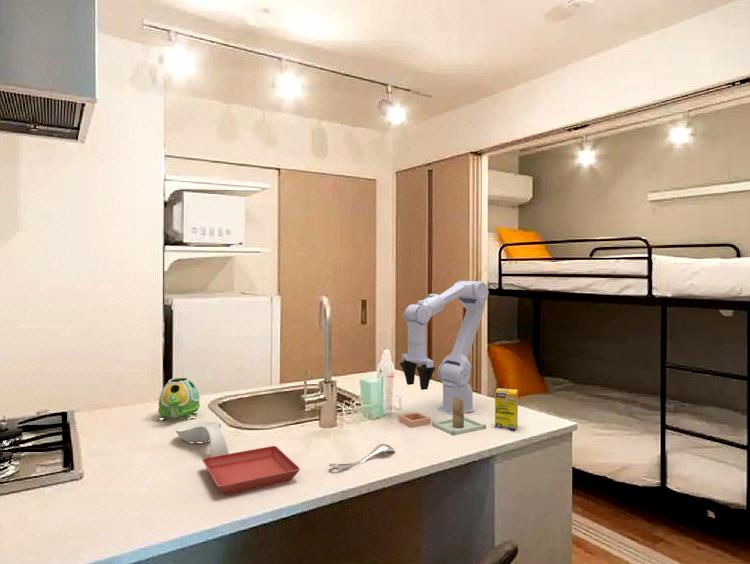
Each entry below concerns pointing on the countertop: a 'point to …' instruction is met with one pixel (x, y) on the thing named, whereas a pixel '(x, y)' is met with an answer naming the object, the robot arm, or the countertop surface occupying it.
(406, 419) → the tray
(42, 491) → the countertop surface
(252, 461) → the plant saucer
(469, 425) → the tray
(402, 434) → the countertop surface
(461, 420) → the dowel
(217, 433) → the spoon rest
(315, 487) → the countertop surface
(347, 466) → the silver spork
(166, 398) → the turtle holder
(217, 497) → the countertop surface
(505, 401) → the supplement box
